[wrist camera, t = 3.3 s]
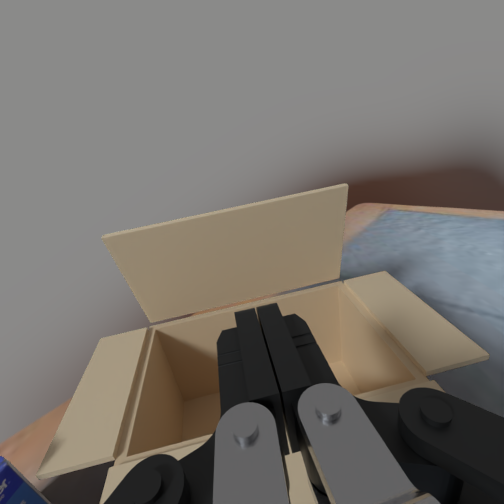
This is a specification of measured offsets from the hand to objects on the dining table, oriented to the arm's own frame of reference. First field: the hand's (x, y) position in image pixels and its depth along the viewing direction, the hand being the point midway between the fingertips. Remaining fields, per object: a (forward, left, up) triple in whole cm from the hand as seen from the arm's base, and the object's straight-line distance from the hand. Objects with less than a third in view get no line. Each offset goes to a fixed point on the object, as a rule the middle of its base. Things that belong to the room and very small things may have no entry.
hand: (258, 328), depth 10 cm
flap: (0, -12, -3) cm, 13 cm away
